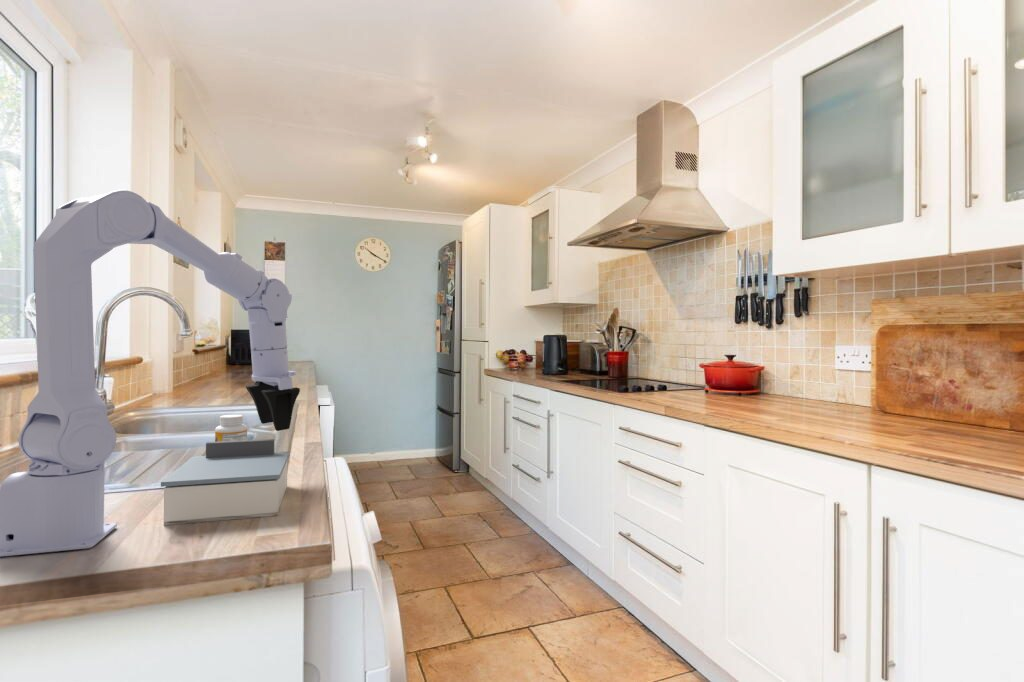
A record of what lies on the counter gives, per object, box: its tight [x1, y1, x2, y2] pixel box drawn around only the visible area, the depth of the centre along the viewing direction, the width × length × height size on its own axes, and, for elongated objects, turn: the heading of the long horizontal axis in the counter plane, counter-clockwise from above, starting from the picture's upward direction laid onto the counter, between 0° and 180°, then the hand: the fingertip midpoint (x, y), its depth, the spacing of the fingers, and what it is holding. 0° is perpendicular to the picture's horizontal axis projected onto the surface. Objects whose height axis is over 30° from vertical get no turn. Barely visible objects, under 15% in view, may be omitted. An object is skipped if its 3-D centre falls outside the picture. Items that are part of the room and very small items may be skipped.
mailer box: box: [163, 461, 288, 526], centre depth 81 cm, size 14×16×5 cm
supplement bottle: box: [214, 414, 248, 442], centre depth 103 cm, size 6×6×10 cm
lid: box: [160, 438, 290, 488], centre depth 81 cm, size 15×17×3 cm
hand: (275, 425), depth 92 cm, fingers open, 7 cm apart
